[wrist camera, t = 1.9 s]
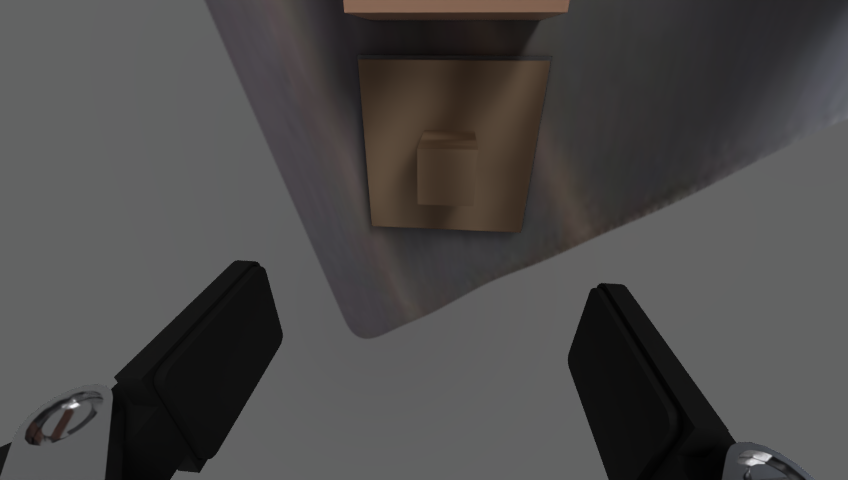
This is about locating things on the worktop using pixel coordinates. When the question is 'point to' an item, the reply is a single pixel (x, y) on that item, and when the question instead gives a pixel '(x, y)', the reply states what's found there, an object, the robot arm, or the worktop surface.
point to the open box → (455, 9)
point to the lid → (450, 140)
